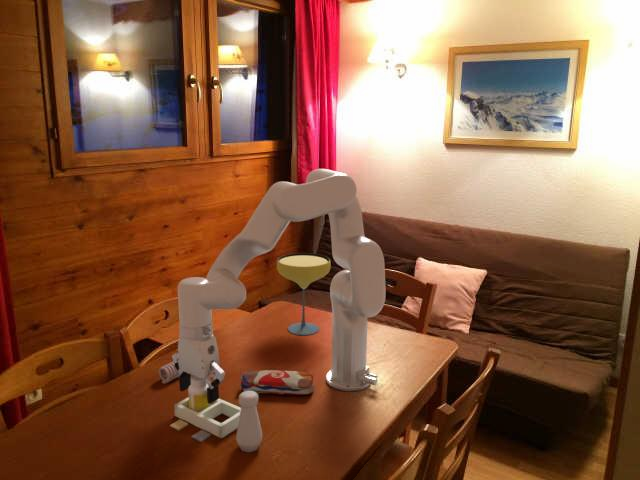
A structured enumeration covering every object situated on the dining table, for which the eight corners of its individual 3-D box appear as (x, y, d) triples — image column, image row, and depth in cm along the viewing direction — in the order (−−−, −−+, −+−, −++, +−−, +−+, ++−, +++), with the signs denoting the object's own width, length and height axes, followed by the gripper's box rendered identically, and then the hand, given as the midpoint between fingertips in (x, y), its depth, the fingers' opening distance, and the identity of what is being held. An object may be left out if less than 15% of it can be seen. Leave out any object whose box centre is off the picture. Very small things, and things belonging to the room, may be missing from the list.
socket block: (247, 421, 127) (246, 410, 127) (221, 438, 121) (221, 426, 120) (200, 401, 136) (200, 390, 136) (174, 415, 129) (174, 404, 129)
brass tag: (188, 425, 126) (188, 423, 126) (178, 430, 123) (178, 429, 123) (180, 420, 127) (179, 419, 127) (170, 426, 125) (170, 425, 125)
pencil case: (303, 407, 134) (304, 389, 133) (234, 394, 140) (234, 376, 139) (317, 387, 144) (318, 370, 143) (252, 375, 151) (252, 359, 149)
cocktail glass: (337, 324, 188) (338, 256, 182) (316, 343, 172) (317, 269, 166) (292, 316, 195) (292, 250, 189) (267, 334, 179) (266, 262, 173)
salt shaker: (237, 439, 120) (236, 387, 117) (262, 438, 121) (262, 386, 118) (235, 455, 115) (234, 401, 112) (262, 454, 115) (261, 400, 112)
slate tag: (210, 435, 122) (210, 434, 121) (201, 442, 119) (200, 440, 119) (201, 431, 123) (201, 429, 123) (191, 437, 121) (191, 436, 121)
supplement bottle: (216, 411, 131) (214, 375, 129) (200, 422, 127) (198, 385, 125) (200, 405, 134) (198, 370, 132) (184, 415, 130) (182, 378, 128)
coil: (167, 371, 143) (214, 348, 158) (156, 365, 145) (202, 342, 160) (167, 386, 144) (213, 361, 159) (155, 380, 147) (202, 356, 162)
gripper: (233, 333, 124) (235, 399, 128) (183, 316, 133) (186, 378, 137) (210, 343, 118) (212, 413, 122) (159, 326, 127) (163, 390, 131)
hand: (199, 394), depth 129 cm, fingers open, 9 cm apart
